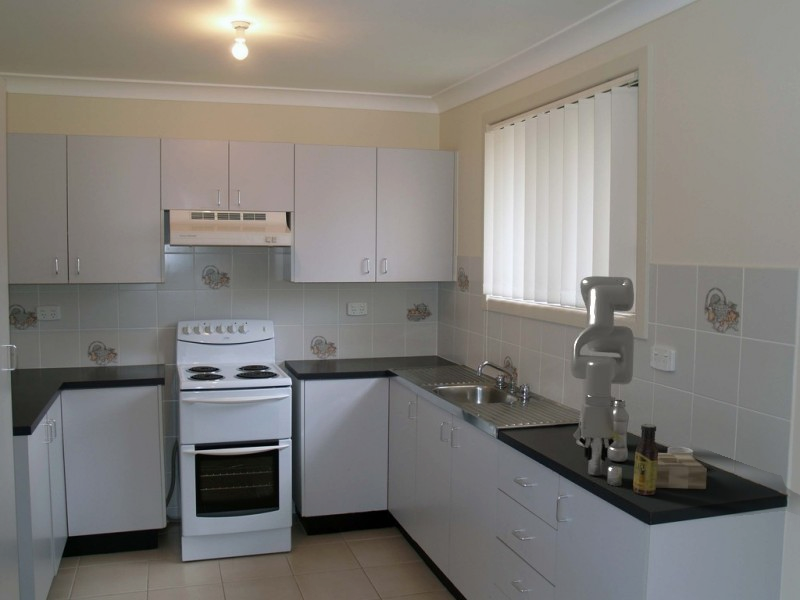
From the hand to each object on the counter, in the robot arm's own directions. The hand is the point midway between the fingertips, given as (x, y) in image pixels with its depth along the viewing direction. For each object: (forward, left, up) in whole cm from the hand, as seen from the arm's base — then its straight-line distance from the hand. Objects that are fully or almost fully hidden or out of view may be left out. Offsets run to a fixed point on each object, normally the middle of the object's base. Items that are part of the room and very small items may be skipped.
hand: (595, 458), depth 235 cm
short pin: (+8, +4, -5) cm, 11 cm away
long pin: (0, 0, -4) cm, 4 cm away
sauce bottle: (+16, +11, -5) cm, 20 cm away
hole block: (+2, +22, -5) cm, 23 cm away
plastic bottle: (-17, +11, -5) cm, 21 cm away
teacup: (-13, +29, -5) cm, 32 cm away
